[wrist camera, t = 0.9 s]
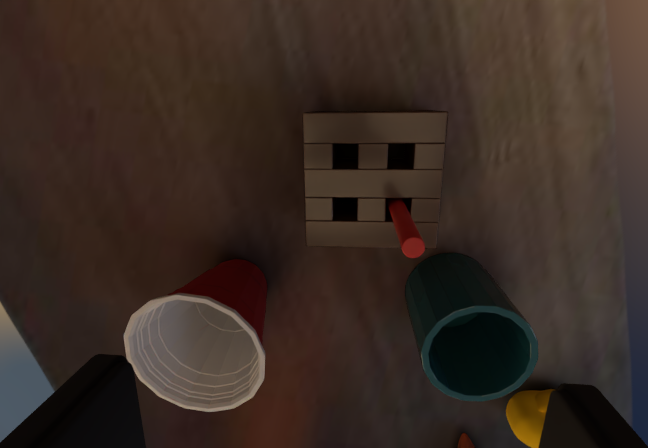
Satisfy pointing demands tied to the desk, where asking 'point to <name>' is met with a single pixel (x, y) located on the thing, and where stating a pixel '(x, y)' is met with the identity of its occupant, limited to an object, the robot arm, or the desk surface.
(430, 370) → the tumbler
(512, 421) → the duckling
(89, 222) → the desk surface
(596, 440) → the robot arm
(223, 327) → the plastic cup
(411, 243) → the straw
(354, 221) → the straw stand
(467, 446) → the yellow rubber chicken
